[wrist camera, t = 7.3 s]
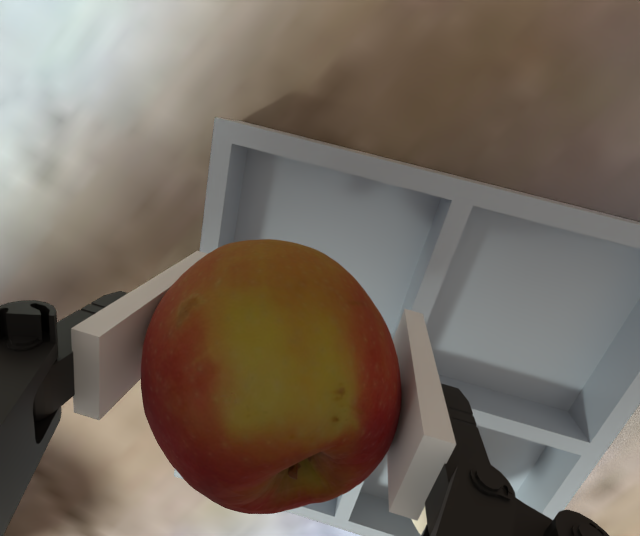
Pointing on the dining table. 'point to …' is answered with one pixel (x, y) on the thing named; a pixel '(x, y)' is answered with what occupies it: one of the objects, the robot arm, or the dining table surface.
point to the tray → (458, 298)
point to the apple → (270, 377)
